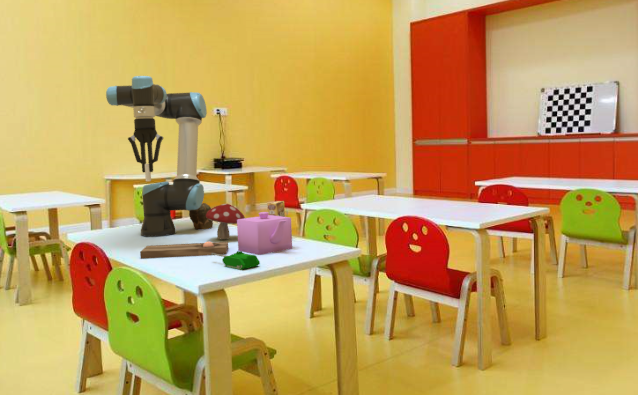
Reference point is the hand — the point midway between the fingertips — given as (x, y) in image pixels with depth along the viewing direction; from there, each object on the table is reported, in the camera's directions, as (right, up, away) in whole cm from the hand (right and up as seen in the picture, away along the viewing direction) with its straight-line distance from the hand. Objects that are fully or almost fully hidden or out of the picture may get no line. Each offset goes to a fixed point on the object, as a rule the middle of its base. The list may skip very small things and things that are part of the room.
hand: (148, 180), depth 218 cm
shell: (+9, -21, +55) cm, 60 cm away
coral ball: (+24, -24, -7) cm, 35 cm away
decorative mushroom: (+26, -24, +20) cm, 41 cm away
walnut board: (+16, -27, -7) cm, 32 cm away
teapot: (+45, -26, -6) cm, 53 cm away
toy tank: (+37, -29, -30) cm, 55 cm away
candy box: (+48, -24, +17) cm, 56 cm away
